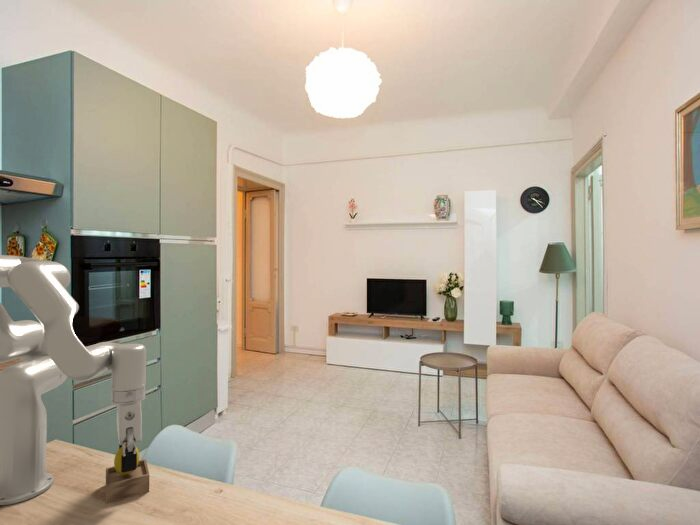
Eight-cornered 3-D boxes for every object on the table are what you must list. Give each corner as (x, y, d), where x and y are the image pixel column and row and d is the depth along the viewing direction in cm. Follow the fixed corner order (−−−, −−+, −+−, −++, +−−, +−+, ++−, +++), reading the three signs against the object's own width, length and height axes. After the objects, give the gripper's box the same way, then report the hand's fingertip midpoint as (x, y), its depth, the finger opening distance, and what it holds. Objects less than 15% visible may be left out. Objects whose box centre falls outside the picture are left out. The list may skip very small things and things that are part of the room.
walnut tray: (106, 503, 91) (106, 485, 91) (105, 484, 99) (105, 468, 99) (149, 491, 96) (149, 474, 96) (145, 474, 104) (145, 458, 104)
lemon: (127, 483, 94) (128, 450, 94) (108, 480, 95) (109, 447, 95) (144, 471, 100) (144, 440, 100) (125, 468, 101) (126, 437, 101)
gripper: (149, 401, 92) (148, 473, 92) (142, 382, 107) (141, 444, 107) (112, 407, 88) (111, 482, 88) (110, 386, 102) (109, 451, 102)
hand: (127, 461), depth 97 cm, fingers open, 9 cm apart
